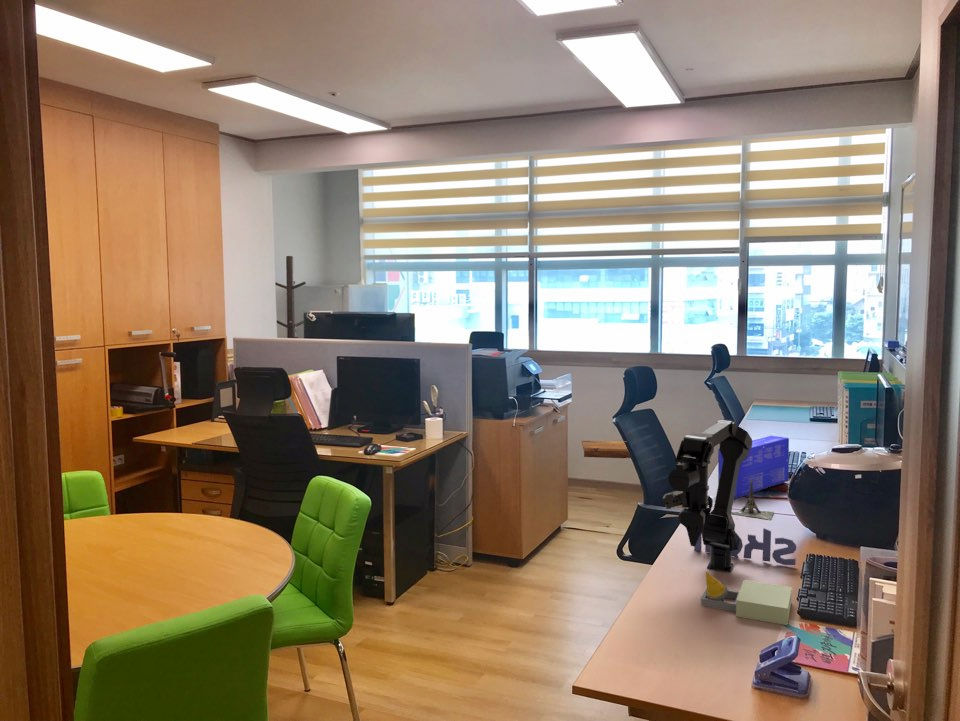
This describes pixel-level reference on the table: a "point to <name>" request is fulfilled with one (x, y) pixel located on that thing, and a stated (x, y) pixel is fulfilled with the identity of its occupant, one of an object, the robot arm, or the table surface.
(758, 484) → the toner cartridge box
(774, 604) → the green box with handle
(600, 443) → the brown wooden slab
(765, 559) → the signage
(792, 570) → the table surface
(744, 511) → the eiffel tower figurine
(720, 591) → the yellow cone shape
